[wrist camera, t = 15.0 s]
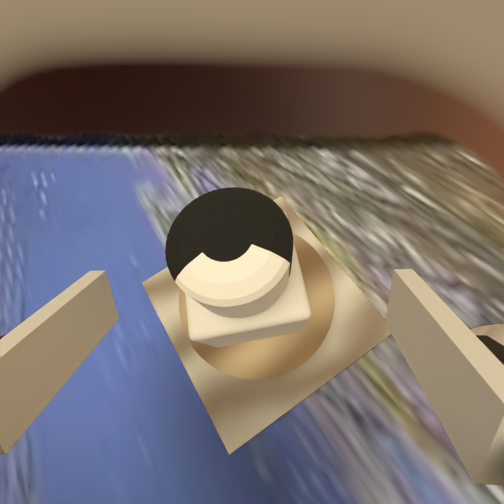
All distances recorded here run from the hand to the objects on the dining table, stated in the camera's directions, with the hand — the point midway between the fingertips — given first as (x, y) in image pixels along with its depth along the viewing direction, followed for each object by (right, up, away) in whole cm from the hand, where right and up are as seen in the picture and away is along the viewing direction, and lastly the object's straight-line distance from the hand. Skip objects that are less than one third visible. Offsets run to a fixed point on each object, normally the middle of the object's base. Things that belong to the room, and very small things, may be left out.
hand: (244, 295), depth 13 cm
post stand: (+1, -4, +16) cm, 17 cm away
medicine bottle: (0, -2, +11) cm, 11 cm away
